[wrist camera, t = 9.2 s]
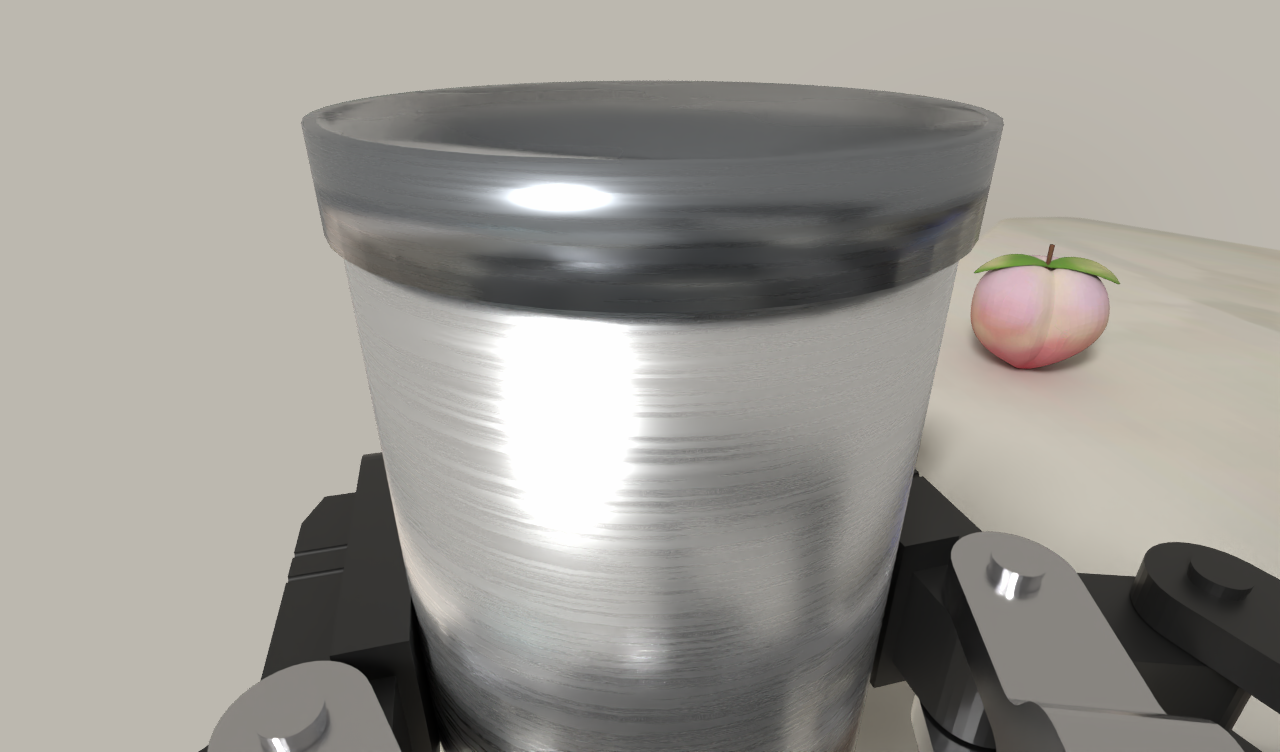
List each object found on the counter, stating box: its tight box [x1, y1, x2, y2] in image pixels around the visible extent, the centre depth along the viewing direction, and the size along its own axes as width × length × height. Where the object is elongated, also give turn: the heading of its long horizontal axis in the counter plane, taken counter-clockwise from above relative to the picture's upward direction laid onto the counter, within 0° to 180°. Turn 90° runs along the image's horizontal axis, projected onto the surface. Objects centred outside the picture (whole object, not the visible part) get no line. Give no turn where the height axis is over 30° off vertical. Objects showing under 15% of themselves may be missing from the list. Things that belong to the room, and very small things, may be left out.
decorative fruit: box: [971, 244, 1120, 368], centre depth 53 cm, size 9×8×10 cm
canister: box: [301, 81, 1004, 752], centre depth 9 cm, size 5×5×13 cm
